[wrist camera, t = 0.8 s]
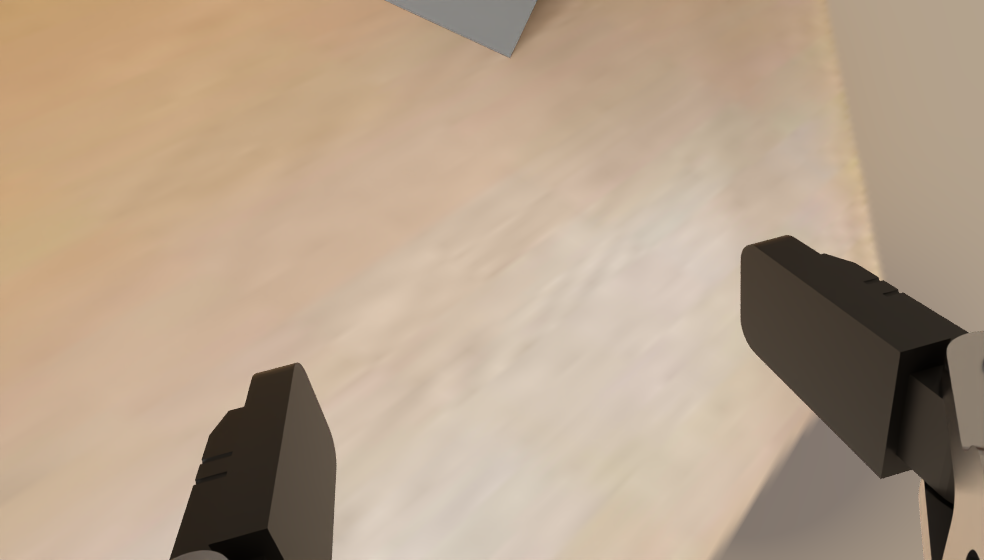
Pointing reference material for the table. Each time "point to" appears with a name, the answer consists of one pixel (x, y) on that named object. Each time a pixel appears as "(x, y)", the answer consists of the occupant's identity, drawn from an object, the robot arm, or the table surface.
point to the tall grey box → (477, 19)
